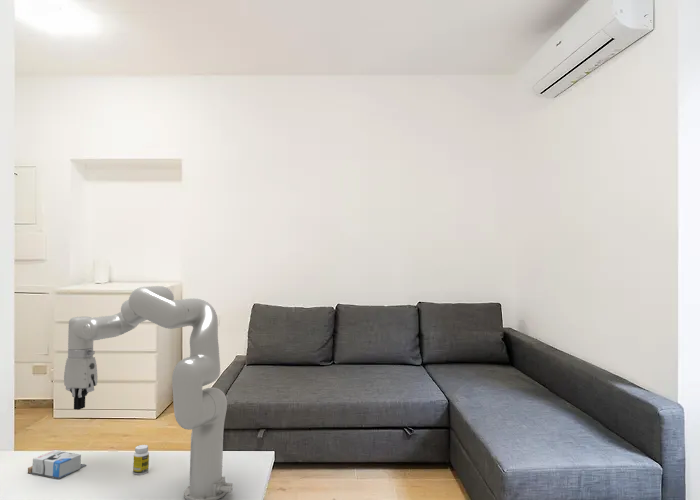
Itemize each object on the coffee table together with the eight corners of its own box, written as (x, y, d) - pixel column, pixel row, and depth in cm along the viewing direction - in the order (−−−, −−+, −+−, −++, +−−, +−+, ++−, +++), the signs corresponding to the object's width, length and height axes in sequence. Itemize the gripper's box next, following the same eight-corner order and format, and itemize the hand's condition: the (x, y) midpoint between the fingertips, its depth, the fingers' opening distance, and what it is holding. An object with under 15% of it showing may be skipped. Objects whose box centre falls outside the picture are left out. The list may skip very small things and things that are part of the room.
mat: (86, 465, 169) (86, 460, 169) (59, 478, 158) (59, 473, 158) (55, 461, 173) (56, 455, 173) (27, 473, 162) (27, 467, 162)
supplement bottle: (142, 475, 162) (143, 449, 162) (129, 474, 163) (130, 448, 163) (151, 470, 166) (152, 444, 167) (138, 468, 167) (139, 443, 168)
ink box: (59, 462, 158) (32, 458, 161) (59, 478, 158) (31, 473, 161) (81, 453, 166) (54, 449, 170) (81, 468, 166) (54, 463, 169)
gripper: (107, 352, 168) (106, 407, 167) (71, 350, 172) (70, 404, 171) (90, 356, 161) (89, 413, 160) (53, 354, 165) (52, 409, 164)
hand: (79, 408), depth 166 cm, fingers closed
